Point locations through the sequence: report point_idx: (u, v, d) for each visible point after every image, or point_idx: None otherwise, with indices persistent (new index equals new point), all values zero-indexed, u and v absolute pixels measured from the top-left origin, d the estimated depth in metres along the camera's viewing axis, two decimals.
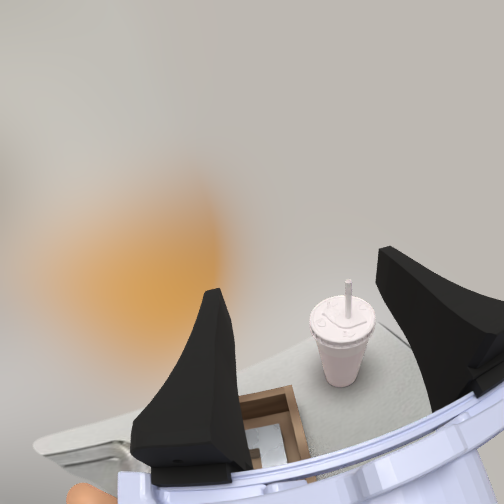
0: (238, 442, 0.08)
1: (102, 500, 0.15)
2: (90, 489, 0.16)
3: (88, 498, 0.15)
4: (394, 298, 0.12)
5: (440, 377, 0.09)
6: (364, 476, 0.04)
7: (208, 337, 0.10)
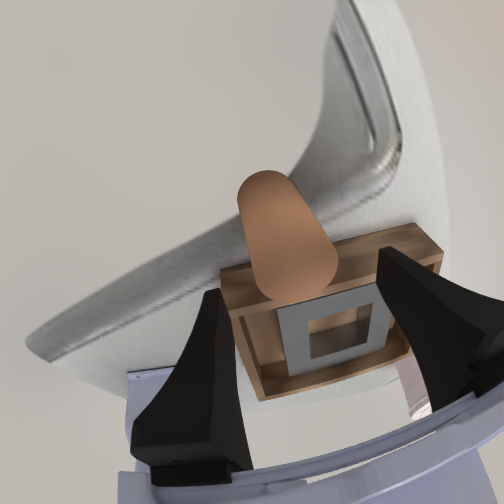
0: (238, 442, 0.08)
1: (311, 295, 0.15)
2: (326, 274, 0.14)
3: (308, 276, 0.14)
4: (394, 298, 0.12)
5: (441, 377, 0.09)
6: (364, 476, 0.04)
7: (208, 337, 0.10)
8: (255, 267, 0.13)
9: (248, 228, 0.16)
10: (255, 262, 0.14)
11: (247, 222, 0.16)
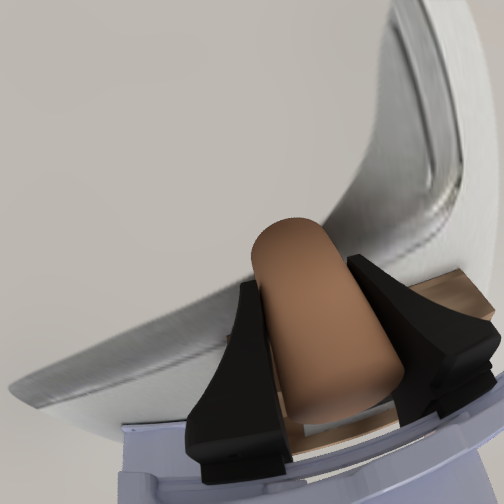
0: (285, 433, 0.08)
1: (357, 410, 0.10)
2: (383, 392, 0.09)
3: (359, 399, 0.09)
4: None
5: (406, 392, 0.09)
6: (364, 476, 0.04)
7: (254, 327, 0.10)
8: (288, 403, 0.08)
9: (273, 325, 0.10)
10: (288, 395, 0.08)
11: (271, 312, 0.11)
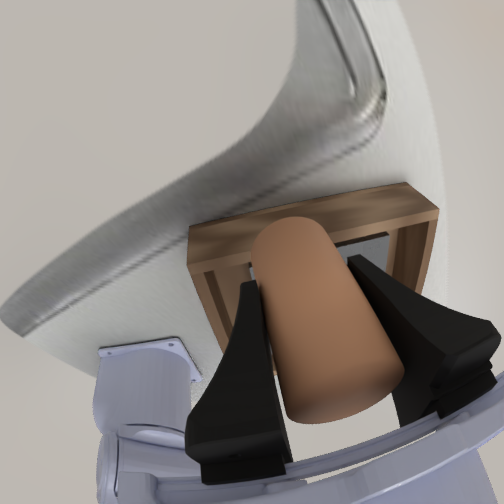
0: (285, 433, 0.08)
1: (357, 410, 0.10)
2: (383, 392, 0.09)
3: (359, 399, 0.09)
4: None
5: (406, 392, 0.09)
6: (364, 476, 0.04)
7: (254, 327, 0.10)
8: (288, 402, 0.08)
9: (272, 324, 0.10)
10: (288, 395, 0.08)
11: (270, 312, 0.11)
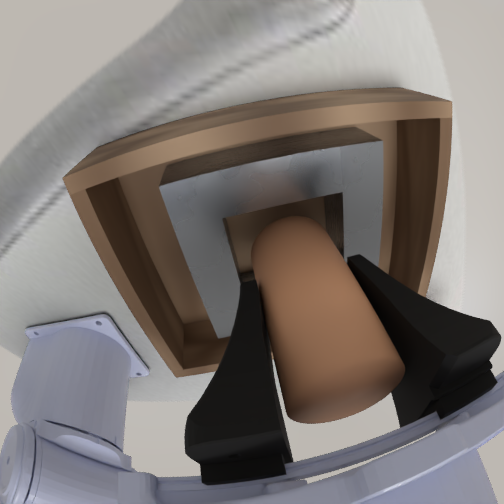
0: (285, 433, 0.08)
1: (359, 409, 0.10)
2: (384, 390, 0.09)
3: (360, 398, 0.09)
4: None
5: (406, 392, 0.09)
6: (364, 476, 0.04)
7: (254, 328, 0.10)
8: (287, 402, 0.08)
9: (272, 324, 0.10)
10: (287, 395, 0.08)
11: (270, 312, 0.11)
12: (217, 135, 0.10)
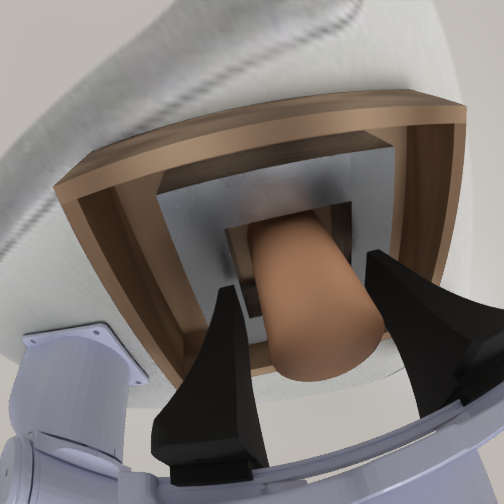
0: (257, 439, 0.08)
1: (345, 370, 0.11)
2: (367, 347, 0.10)
3: (343, 352, 0.10)
4: (382, 302, 0.12)
5: (427, 383, 0.09)
6: (364, 476, 0.04)
7: (226, 333, 0.10)
8: (272, 348, 0.09)
9: (261, 284, 0.12)
10: (271, 341, 0.09)
11: (260, 275, 0.12)
12: (219, 141, 0.09)
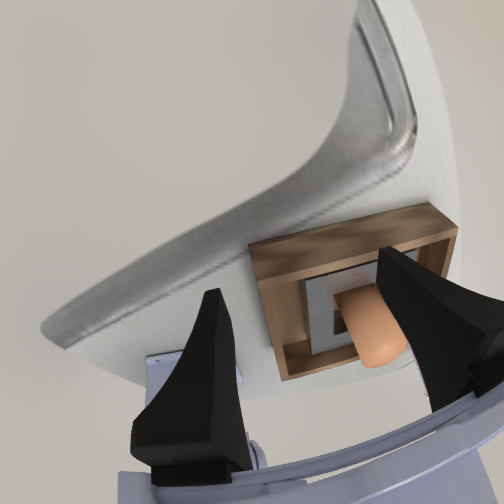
0: (238, 442, 0.08)
1: (388, 361, 0.22)
2: (399, 351, 0.21)
3: (389, 354, 0.21)
4: (394, 298, 0.12)
5: (441, 377, 0.09)
6: (364, 476, 0.04)
7: (208, 337, 0.10)
8: (364, 356, 0.21)
9: (353, 325, 0.23)
10: (364, 353, 0.21)
11: (351, 320, 0.23)
12: (346, 262, 0.20)
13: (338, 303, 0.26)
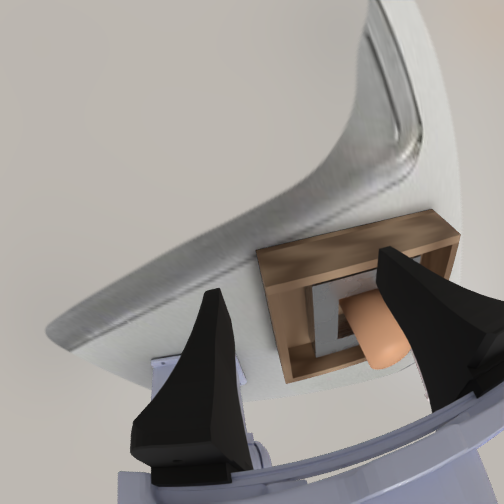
0: (238, 442, 0.08)
1: (395, 362, 0.22)
2: (405, 352, 0.22)
3: (396, 355, 0.21)
4: (394, 298, 0.12)
5: (440, 377, 0.09)
6: (364, 476, 0.04)
7: (208, 337, 0.10)
8: (371, 357, 0.21)
9: (358, 328, 0.23)
10: (371, 354, 0.21)
11: (356, 323, 0.24)
12: (352, 268, 0.21)
13: (343, 307, 0.26)
